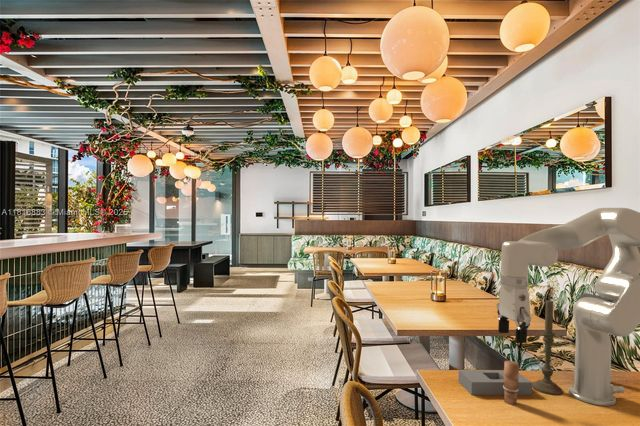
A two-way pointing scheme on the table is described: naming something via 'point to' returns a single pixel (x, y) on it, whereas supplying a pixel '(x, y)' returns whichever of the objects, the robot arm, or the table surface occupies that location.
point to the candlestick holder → (548, 356)
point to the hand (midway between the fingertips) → (511, 337)
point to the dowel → (511, 382)
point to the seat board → (490, 382)
